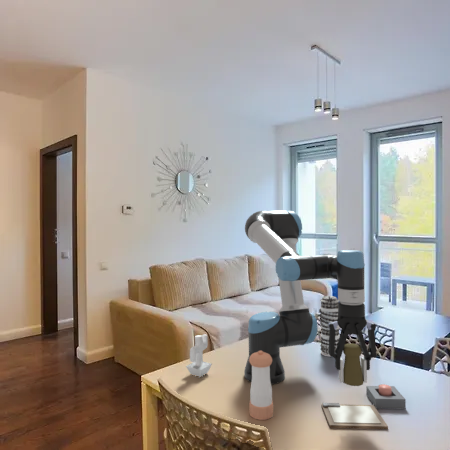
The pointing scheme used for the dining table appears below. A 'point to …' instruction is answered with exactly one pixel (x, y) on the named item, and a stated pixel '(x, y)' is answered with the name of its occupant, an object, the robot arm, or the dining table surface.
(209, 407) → the dining table surface
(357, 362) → the pepper shaker
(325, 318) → the decorative candle
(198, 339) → the figurine
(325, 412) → the clipboard
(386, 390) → the button
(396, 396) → the button housing
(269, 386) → the pepper shaker
